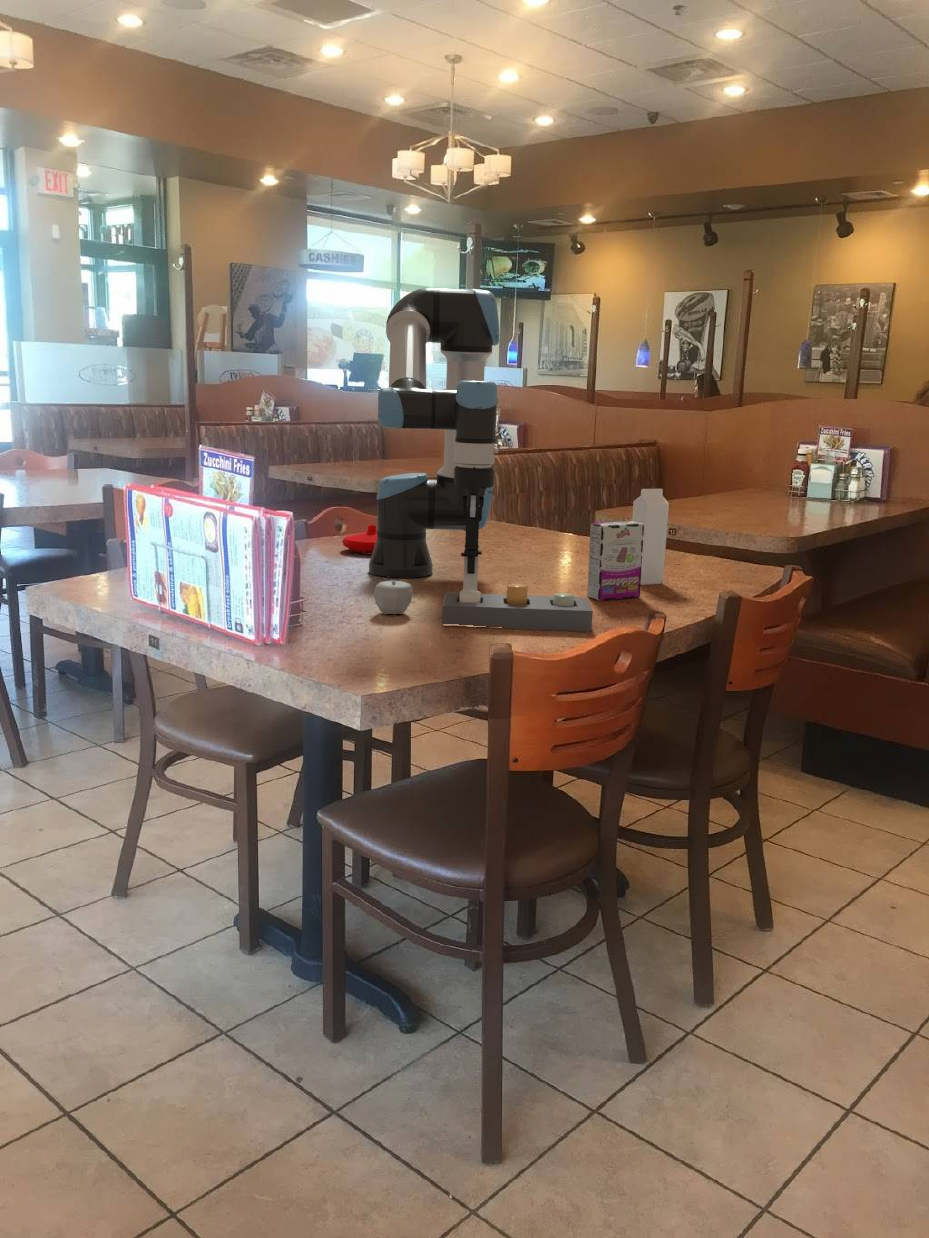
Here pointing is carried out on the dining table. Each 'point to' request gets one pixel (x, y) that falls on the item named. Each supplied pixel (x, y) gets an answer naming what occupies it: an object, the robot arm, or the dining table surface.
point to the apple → (393, 596)
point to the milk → (652, 533)
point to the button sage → (563, 599)
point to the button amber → (516, 594)
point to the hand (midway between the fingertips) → (470, 589)
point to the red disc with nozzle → (362, 540)
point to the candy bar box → (615, 560)
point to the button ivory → (470, 596)
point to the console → (518, 613)
